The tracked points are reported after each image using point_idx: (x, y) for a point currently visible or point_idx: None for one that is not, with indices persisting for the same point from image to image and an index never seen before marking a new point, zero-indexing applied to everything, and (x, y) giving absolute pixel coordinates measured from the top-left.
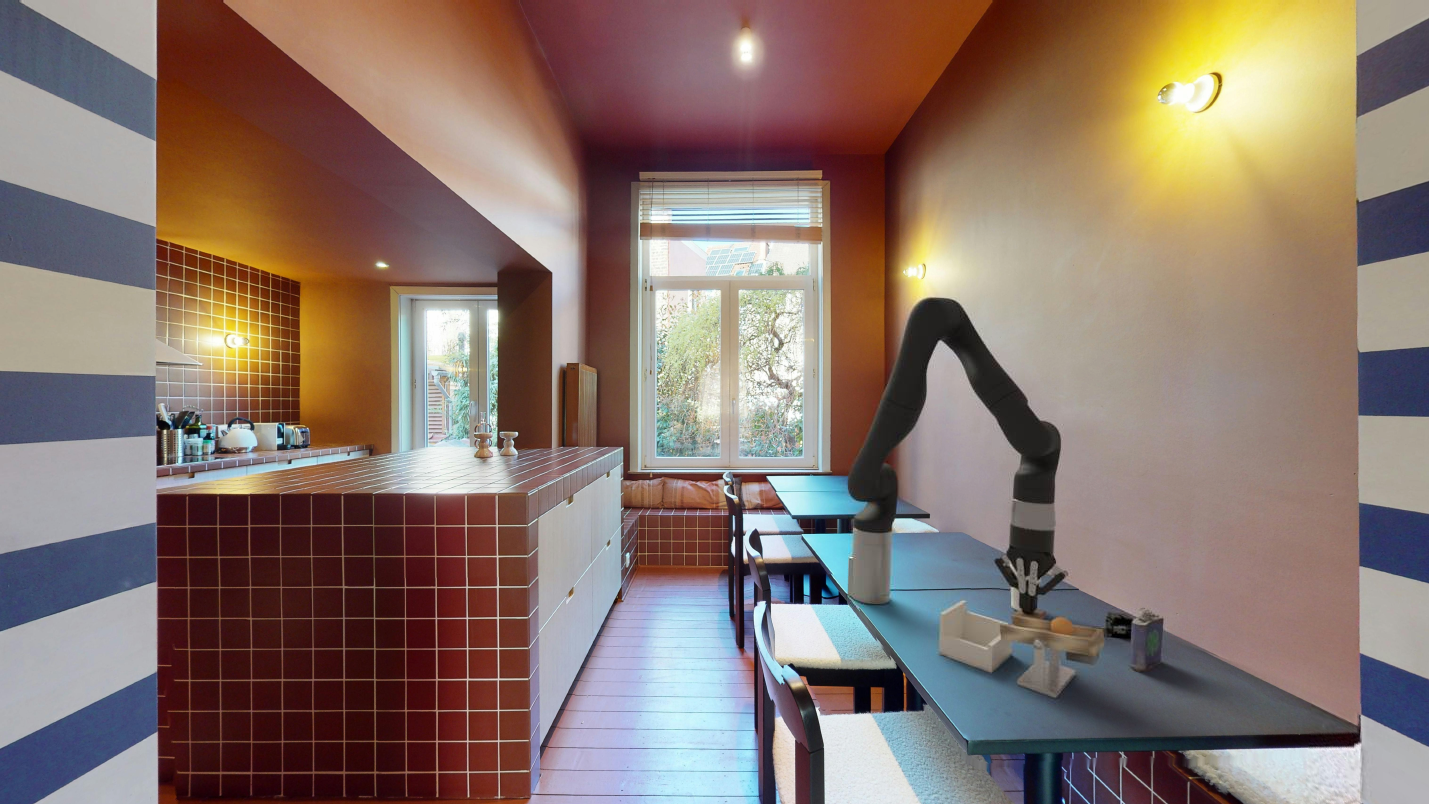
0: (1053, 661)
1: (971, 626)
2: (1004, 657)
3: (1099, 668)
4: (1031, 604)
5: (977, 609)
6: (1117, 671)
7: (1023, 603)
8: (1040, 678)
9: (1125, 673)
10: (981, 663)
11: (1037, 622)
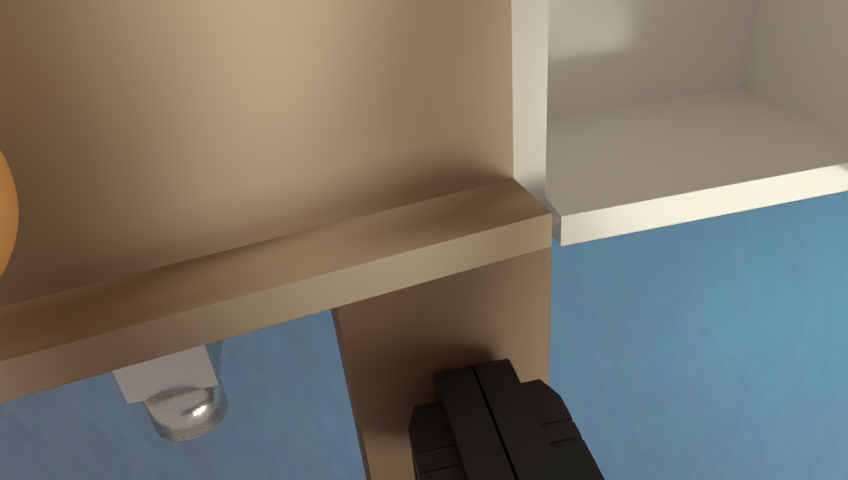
0: None
1: (758, 127)
2: None
3: (101, 402)
4: (453, 459)
5: (750, 456)
6: (37, 443)
7: (526, 423)
8: None
9: (3, 456)
10: None
11: (295, 268)
